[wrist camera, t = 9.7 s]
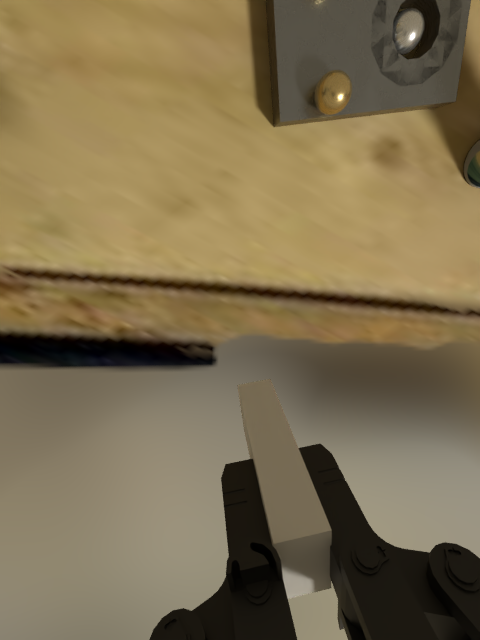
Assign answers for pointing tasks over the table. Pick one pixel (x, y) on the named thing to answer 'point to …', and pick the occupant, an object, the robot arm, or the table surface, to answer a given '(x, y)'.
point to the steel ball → (407, 30)
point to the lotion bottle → (473, 166)
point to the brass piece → (333, 92)
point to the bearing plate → (362, 56)
